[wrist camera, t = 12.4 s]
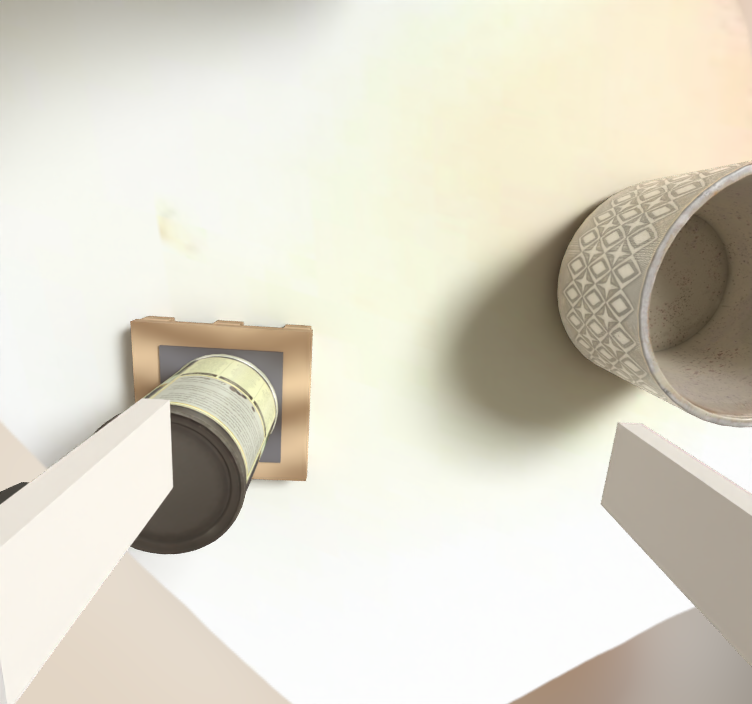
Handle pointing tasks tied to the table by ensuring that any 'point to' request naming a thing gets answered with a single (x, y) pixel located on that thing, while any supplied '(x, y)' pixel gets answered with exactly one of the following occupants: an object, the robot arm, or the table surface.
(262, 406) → the coffee can
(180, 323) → the dock
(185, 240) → the table surface
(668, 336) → the planter
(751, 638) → the robot arm
